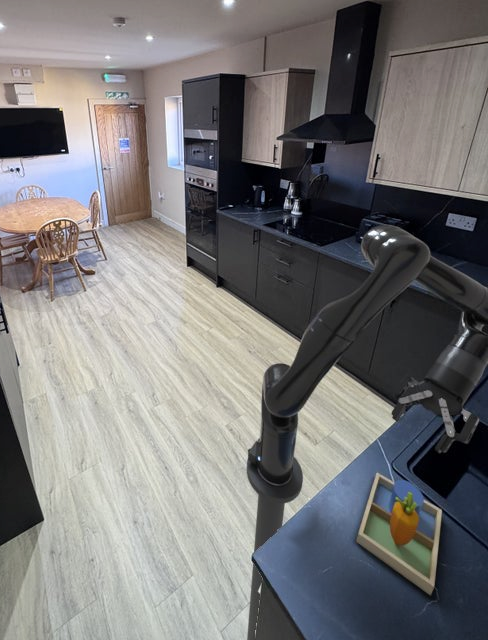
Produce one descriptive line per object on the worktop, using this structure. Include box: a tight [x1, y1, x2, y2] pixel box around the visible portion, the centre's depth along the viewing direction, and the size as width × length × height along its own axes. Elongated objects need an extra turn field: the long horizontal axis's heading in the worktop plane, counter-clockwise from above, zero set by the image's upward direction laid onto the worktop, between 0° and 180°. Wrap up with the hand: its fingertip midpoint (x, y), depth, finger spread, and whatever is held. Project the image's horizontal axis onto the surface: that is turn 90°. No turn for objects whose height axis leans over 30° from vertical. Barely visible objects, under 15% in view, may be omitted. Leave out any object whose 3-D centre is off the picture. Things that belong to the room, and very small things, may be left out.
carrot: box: [390, 492, 419, 546], centre depth 70 cm, size 5×5×15 cm
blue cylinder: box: [389, 479, 425, 516], centre depth 78 cm, size 6×6×7 cm
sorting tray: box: [356, 472, 443, 596], centre depth 76 cm, size 14×18×3 cm
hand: (414, 434), depth 69 cm, fingers open, 8 cm apart
